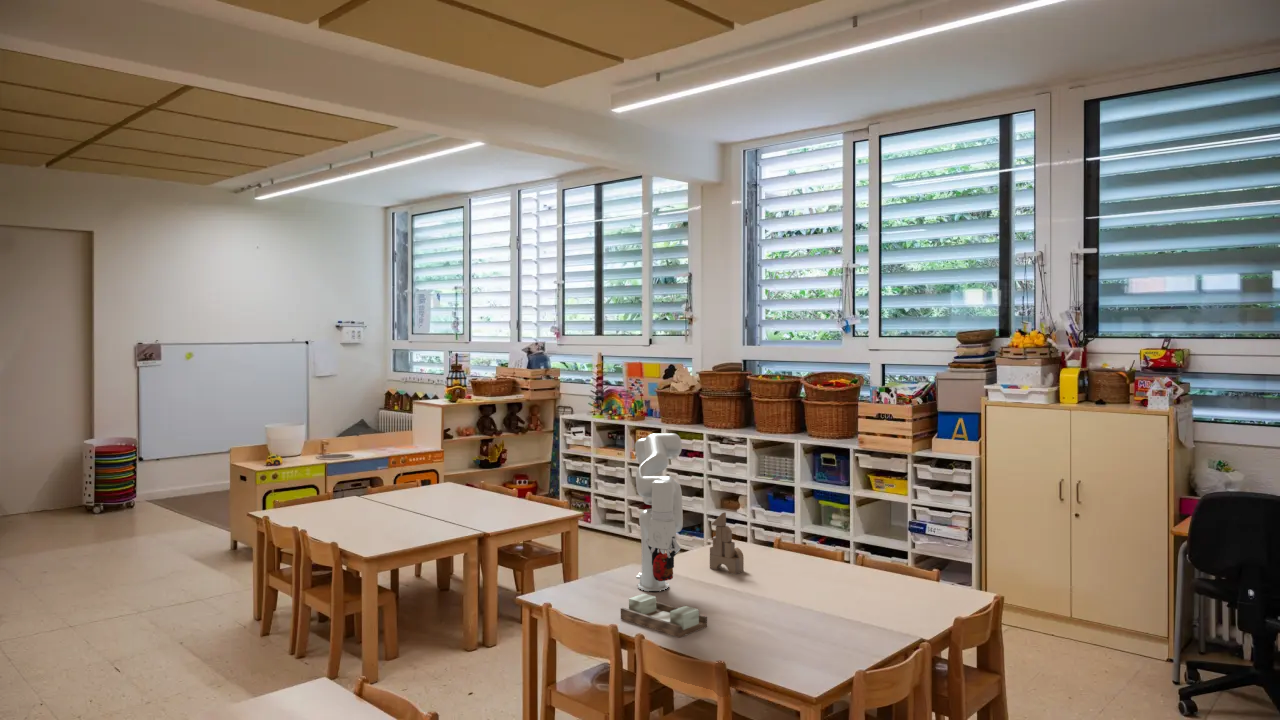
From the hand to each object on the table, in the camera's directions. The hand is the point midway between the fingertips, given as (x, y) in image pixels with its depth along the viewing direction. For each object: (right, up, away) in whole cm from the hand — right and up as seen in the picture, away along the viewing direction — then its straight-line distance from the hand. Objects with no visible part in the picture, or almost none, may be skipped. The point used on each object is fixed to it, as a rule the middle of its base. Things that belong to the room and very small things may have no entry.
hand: (662, 565), depth 284 cm
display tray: (0, -20, 0) cm, 20 cm away
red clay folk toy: (0, -5, 0) cm, 5 cm away
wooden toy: (+29, -19, +66) cm, 74 cm away
